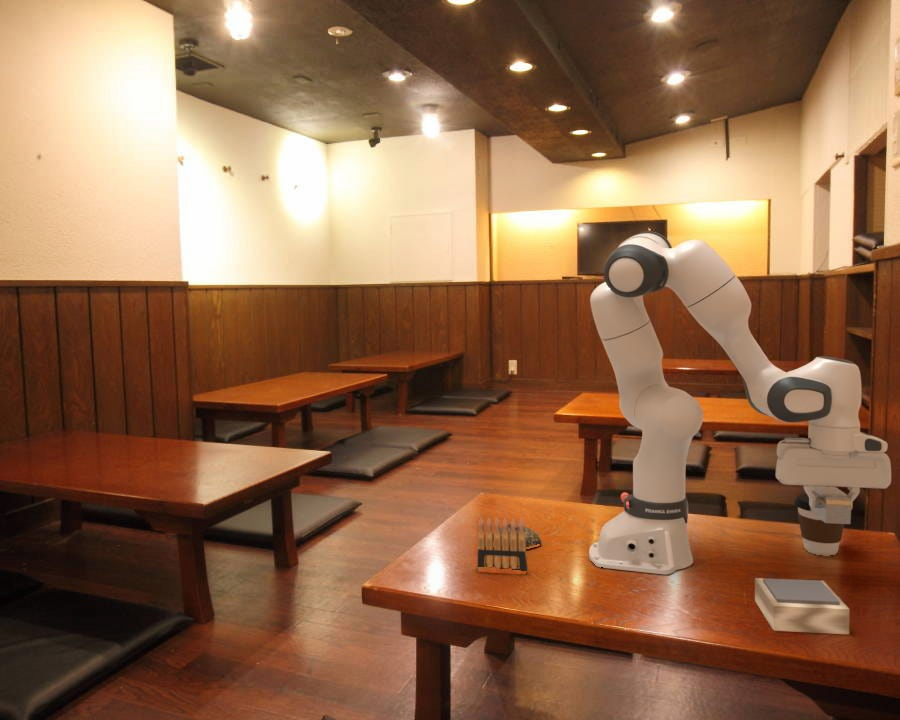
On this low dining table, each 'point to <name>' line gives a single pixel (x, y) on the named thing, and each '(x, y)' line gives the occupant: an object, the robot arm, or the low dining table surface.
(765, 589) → the stand
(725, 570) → the low dining table surface
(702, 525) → the low dining table surface
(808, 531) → the coffee cup
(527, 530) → the dark speckled curved piece
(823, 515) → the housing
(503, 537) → the ammunition clip
